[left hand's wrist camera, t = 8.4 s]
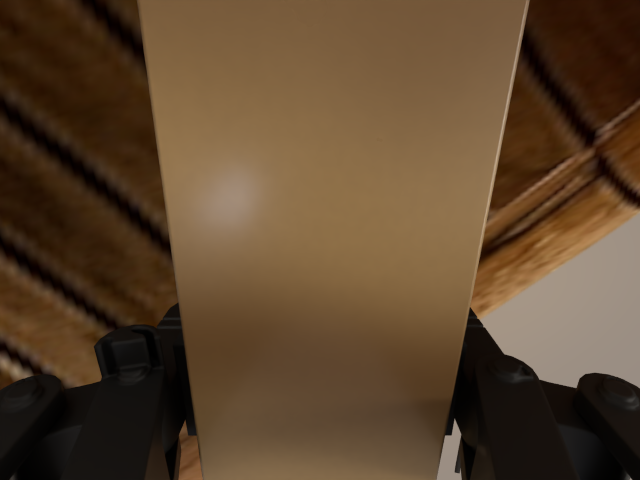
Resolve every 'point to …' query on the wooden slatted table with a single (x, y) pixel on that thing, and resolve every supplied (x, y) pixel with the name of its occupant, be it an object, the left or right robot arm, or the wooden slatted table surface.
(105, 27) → the wooden slatted table surface
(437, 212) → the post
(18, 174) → the wooden slatted table surface
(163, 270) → the wooden slatted table surface
